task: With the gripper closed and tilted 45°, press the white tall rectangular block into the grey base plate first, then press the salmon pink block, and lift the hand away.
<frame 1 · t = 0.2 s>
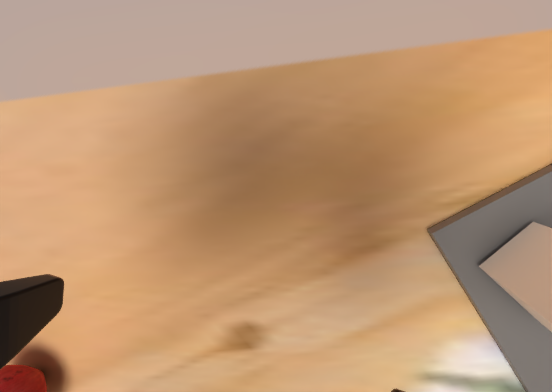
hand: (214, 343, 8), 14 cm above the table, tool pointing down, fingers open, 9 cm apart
onion: (43, 371, 28), on the table
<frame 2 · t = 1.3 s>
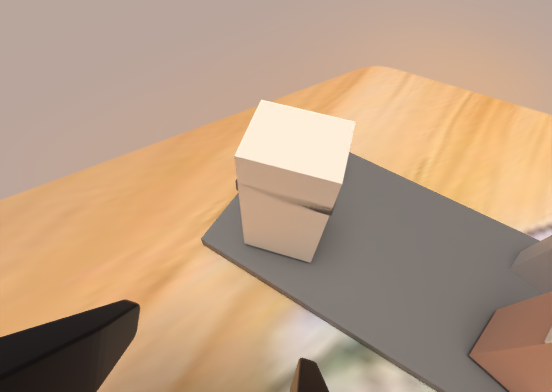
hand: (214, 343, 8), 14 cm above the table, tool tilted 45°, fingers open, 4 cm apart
grey base plate: (389, 281, 23), on the table
white tall rectangular block: (289, 193, 19), point 6 cm above the table, slide at 0.0 cm
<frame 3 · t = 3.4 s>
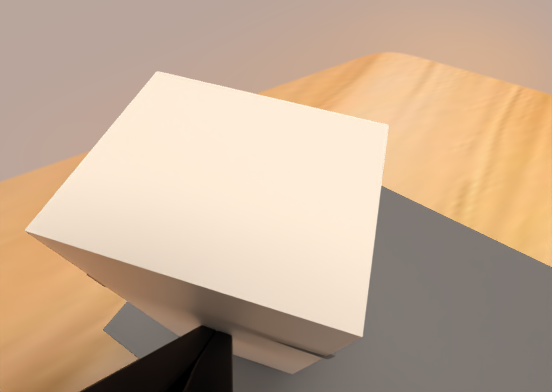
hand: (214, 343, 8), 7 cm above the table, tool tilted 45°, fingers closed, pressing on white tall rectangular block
white tall rectangular block: (245, 268, 9), point 6 cm above the table, slide at 0.2 cm, touching gripper
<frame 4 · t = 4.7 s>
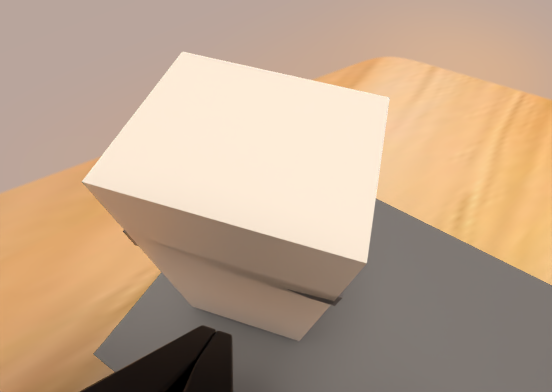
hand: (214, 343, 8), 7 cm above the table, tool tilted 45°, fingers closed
white tall rectangular block: (257, 237, 10), point 6 cm above the table, slide at 2.5 cm
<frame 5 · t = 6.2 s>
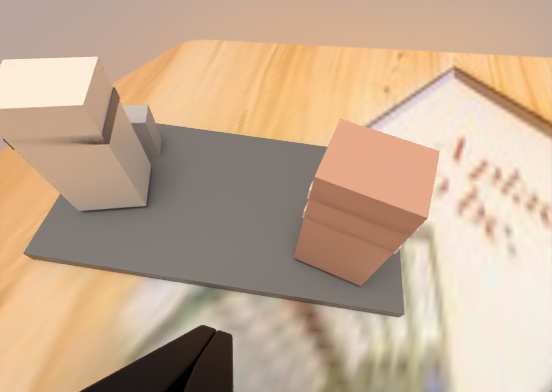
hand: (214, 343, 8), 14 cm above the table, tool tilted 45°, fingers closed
grey base plate: (226, 225, 25), on the table
salmon pink block: (352, 215, 18), point 6 cm above the table, slide at 0.0 cm
white tall rectangular block: (86, 145, 20), point 6 cm above the table, slide at 2.5 cm
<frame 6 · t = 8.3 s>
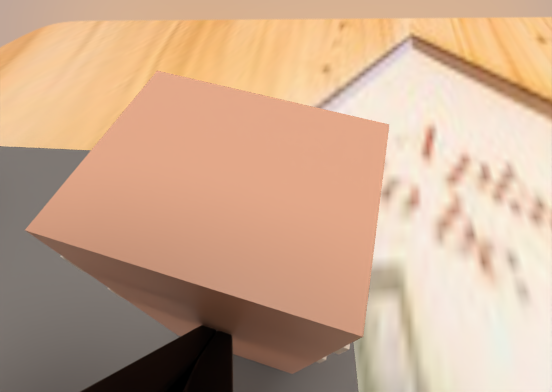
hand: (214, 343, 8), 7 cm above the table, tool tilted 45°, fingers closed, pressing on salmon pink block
grey base plate: (63, 309, 15), on the table
salmon pink block: (245, 268, 9), point 6 cm above the table, slide at 1.3 cm, touching gripper
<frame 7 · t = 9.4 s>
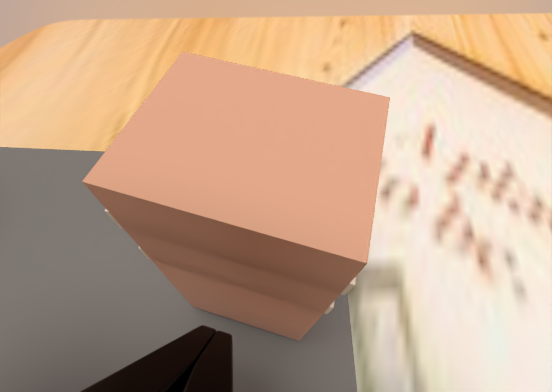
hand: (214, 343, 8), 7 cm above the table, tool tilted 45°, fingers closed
grey base plate: (68, 308, 15), on the table
salmon pink block: (257, 237, 10), point 6 cm above the table, slide at 2.5 cm
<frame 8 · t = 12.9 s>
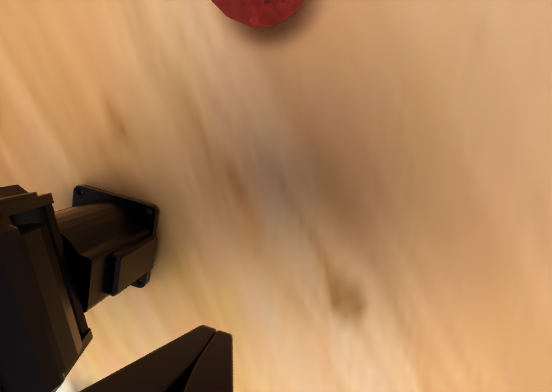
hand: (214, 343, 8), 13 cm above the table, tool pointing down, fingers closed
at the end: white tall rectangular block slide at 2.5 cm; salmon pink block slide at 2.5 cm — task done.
